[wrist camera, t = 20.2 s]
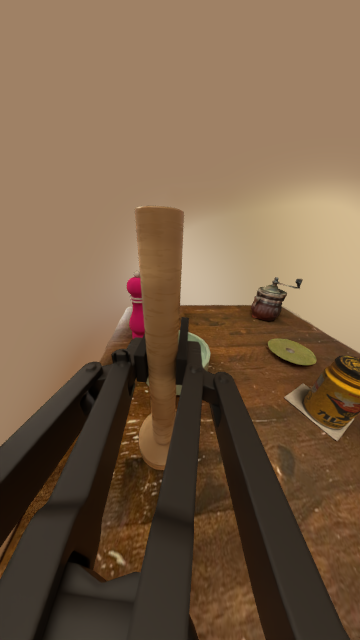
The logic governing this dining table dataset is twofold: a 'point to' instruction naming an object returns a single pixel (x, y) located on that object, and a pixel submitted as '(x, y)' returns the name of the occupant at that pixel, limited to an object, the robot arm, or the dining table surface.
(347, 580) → the dining table surface
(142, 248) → the wooden post with base
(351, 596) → the dining table surface
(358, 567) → the dining table surface
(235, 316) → the dining table surface
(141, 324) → the pepper mill
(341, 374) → the condiment
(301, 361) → the olive green flat disc
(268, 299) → the coffee grinder
